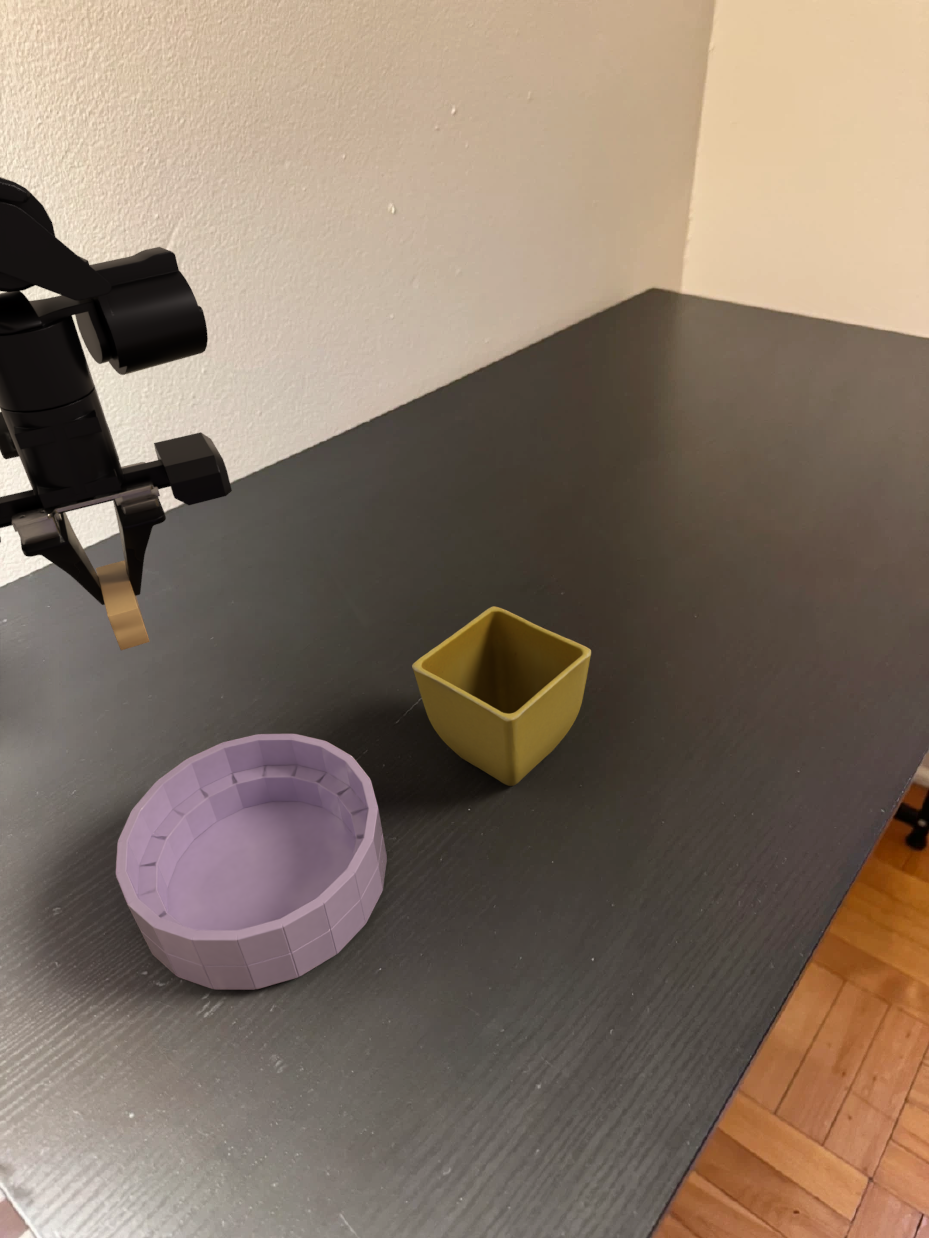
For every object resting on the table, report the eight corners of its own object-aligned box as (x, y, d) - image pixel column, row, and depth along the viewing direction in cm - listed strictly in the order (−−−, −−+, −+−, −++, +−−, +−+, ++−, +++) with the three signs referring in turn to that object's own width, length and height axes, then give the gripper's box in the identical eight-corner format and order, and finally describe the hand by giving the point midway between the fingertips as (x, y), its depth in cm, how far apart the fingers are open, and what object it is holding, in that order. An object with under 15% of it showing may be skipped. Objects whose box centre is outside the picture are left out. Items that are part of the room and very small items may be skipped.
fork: (155, 640, 60) (143, 606, 58) (114, 652, 59) (101, 618, 57) (132, 566, 68) (121, 534, 66) (96, 576, 67) (84, 544, 65)
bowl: (90, 951, 50) (58, 895, 47) (230, 769, 61) (212, 713, 58) (316, 1031, 45) (298, 975, 42) (423, 818, 57) (416, 761, 53)
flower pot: (419, 759, 61) (408, 663, 56) (497, 695, 66) (493, 602, 61) (514, 820, 56) (511, 721, 51) (590, 746, 61) (595, 649, 56)
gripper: (173, 331, 62) (221, 517, 71) (-111, 385, 56) (-18, 580, 65) (205, 378, 54) (255, 581, 63) (-124, 447, 48) (-15, 660, 57)
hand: (120, 597), depth 62 cm, fingers closed on fork, 2 cm apart
